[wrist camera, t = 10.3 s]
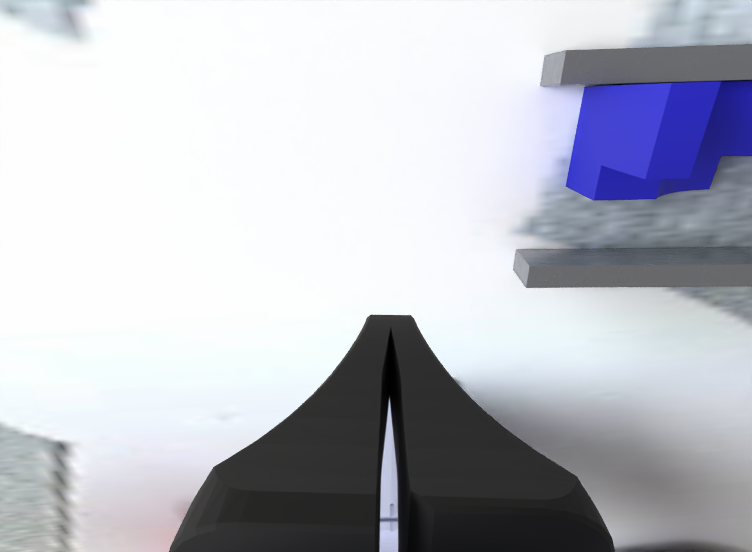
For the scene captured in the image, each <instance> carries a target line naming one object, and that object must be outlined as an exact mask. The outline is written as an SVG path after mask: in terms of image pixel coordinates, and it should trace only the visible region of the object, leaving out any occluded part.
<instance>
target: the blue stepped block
mask: <svg viewBox="0 0 752 552" xmlns="http://www.w3.org/2000/svg"><path fill="white" fill-rule="evenodd" d="M721 156H752V81H733V82H721V81H714V82H686V83H661V84H638V85H616V86H594V87H585V88H584V93H583V98H582V104H581V109H580V114H579V119H578V125H577V130H576V135H575V141H574V146H573V151H572V157H571V162H570V167H569V172H568V178H567V183H566V187H568V188H570V189H572V190H574V191H576V192H578V193H580V194H582V195H584V196H586V197H588V198H590V199H592V200H634V199H656V198H658V197H660V196H662V195H665V194H669V193H673V192H679V191H688V190H704V189H709V188H710V186H711V183H712V180H713V177H714V174H715V171H716V169H717V166H718V163H719V160H720V157H721Z"/></svg>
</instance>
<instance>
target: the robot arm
mask: <svg viewBox="0 0 752 552" xmlns="http://www.w3.org/2000/svg"><path fill="white" fill-rule="evenodd" d="M169 552H615V549H614V545H613V541H612V537H611V535H610V533H609V531H608V529H607V527H606V525H605V523H604V521H603V519H602V517H601V515H600V513H599V512H598V510H597V508H596V506H595V505H594V503H593V501H592V500H591V498H590V497H589V495H588V493H587V492H586V490H585V489H584V487H583V486H582V484H581V482H580V481H579V479H578V477H577V476H575V475H574V474H572V473H570V472H569V471H567V470H566V469H564V468H562V467H561V466H559V465H558V464H556V463H555V462H553V461H551V460H550V459H548V458H547V457H545V456H543V455H542V454H540V453H539V452H537V451H536V450H534V449H533V448H531V447H530V446H528V445H527V444H526V443H524V442H523V441H521V440H520V439H519V438H517V437H516V436H515V435H513V434H512V433H511V432H509V431H508V430H507V429H505V428H504V427H503V426H502V425H501V424H499V423H498V422H497V421H496V420H495V419H493V418H492V417H491V416H490V415H489V414H488V413H486V412H485V411H484V410H483V409H482V408H481V407H480V406H479V405H478V404H477V403H475V402H474V401H473V400H472V399H471V398H470V397H469V396H468V394H467V393H466V392H465V391H464V390H463V389H462V388H461V387H460V386H459V385H458V384H457V383H456V381H455V380H454V379H453V378H452V377H451V376H450V374H449V373H448V372H447V371H446V369H445V368H444V367H443V365H442V364H441V363H440V361H439V360H438V359H437V357H436V356H435V354H434V353H433V351H432V350H431V348H430V347H429V346H428V344H427V342H426V341H425V339H424V337H423V336H422V334H421V332H420V330H419V328H418V327H417V324H416V322H415V320H414V318H413V317H412V316H411V315H370V316H369V317H368V318H367V319H366V322H365V324H364V326H363V328H362V330H361V332H360V334H359V336H358V337H357V339H356V341H355V342H354V344H353V345H352V347H351V348H350V350H349V351H348V353H347V354H346V356H345V357H344V358H343V360H342V361H341V362H340V364H339V365H338V366H337V367H336V369H335V370H334V371H333V373H332V374H331V375H330V376H329V377H328V378H327V380H326V381H325V382H324V383H323V384H322V385H321V386H320V387H319V388H318V389H317V390H316V391H315V393H314V394H313V395H312V396H310V397H309V398H308V399H307V400H306V401H305V402H304V403H303V404H302V405H301V406H300V407H299V408H298V409H297V410H295V411H294V412H293V413H292V414H291V415H290V416H288V417H287V418H286V419H285V420H283V421H282V422H281V423H279V424H278V425H277V426H276V427H274V428H273V429H272V430H270V431H269V432H268V433H266V434H265V435H264V436H262V437H261V438H260V439H258V440H257V441H255V442H254V443H252V444H251V445H249V446H247V447H246V448H244V449H243V450H241V451H239V452H238V453H236V454H234V455H233V456H231V457H230V458H228V459H226V460H225V461H223V462H221V463H220V464H218V465H216V466H215V467H213V469H212V471H211V472H210V474H209V475H208V477H207V479H206V480H205V482H204V484H203V485H202V487H201V488H200V490H199V491H198V493H197V495H196V496H195V498H194V500H193V502H192V503H191V505H190V507H189V510H188V512H187V514H186V516H185V518H184V520H183V522H182V524H181V526H180V528H179V530H178V532H177V534H176V536H175V538H174V541H173V543H172V545H171V547H170V551H169Z"/></svg>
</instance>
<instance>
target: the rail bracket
mask: <svg viewBox="0 0 752 552" xmlns="http://www.w3.org/2000/svg"><path fill="white" fill-rule="evenodd" d="M734 80H752V44H746V45H716V46H685V47H655V48H625V49H594V50H566V51H562V52H558V53H554V54H549V55H545V58H544V65H543V72H542V78H541V85H540V86H562V85H597V84H631V83H665V82H700V81H734ZM513 270H514V271H515V273H516V274H517V276H518V277H519V279H520V280H521V281H522V283H523V284H524V286H525V287H526V288H560V287H701V286H752V247H709V248H621V249H532V250H516V254H515V261H514V268H513Z"/></svg>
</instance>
